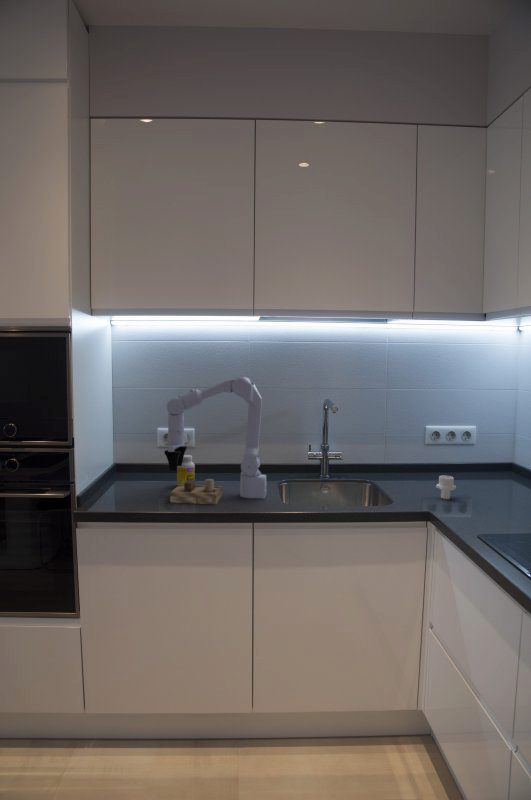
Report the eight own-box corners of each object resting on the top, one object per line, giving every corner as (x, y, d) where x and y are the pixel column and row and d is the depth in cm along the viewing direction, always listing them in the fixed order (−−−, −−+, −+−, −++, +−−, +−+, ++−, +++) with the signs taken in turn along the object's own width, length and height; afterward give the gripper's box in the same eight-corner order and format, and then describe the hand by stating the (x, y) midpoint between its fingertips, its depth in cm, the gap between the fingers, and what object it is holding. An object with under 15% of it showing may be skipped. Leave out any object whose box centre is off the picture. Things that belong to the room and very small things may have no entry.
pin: (214, 498, 193) (214, 479, 193) (212, 500, 190) (212, 481, 190) (205, 498, 193) (206, 478, 193) (204, 500, 190) (204, 480, 190)
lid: (221, 490, 196) (221, 479, 195) (216, 497, 187) (217, 485, 186) (177, 488, 197) (177, 477, 197) (170, 495, 188) (171, 483, 188)
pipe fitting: (434, 495, 208) (435, 474, 208) (453, 496, 207) (454, 475, 207) (436, 499, 202) (437, 478, 202) (456, 500, 201) (458, 479, 200)
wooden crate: (221, 498, 197) (222, 486, 197) (216, 507, 186) (216, 494, 186) (178, 496, 198) (178, 484, 198) (170, 504, 188) (170, 492, 187)
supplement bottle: (186, 492, 205) (187, 458, 204) (173, 489, 209) (173, 456, 208) (198, 488, 211) (198, 455, 210) (184, 486, 214) (185, 453, 213)
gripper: (170, 428, 206) (170, 463, 208) (159, 433, 192) (159, 471, 193) (189, 428, 206) (188, 464, 207) (179, 434, 191) (179, 472, 193)
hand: (175, 468), depth 200 cm, fingers open, 7 cm apart
